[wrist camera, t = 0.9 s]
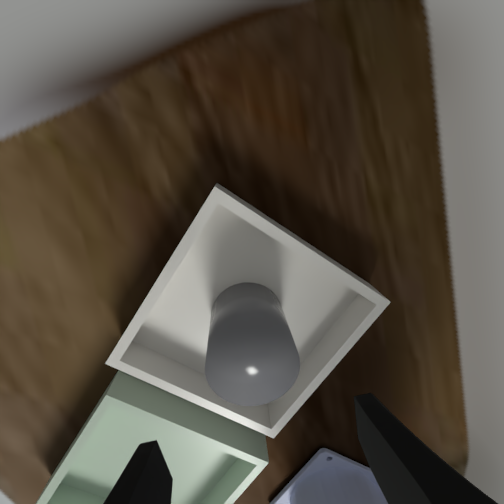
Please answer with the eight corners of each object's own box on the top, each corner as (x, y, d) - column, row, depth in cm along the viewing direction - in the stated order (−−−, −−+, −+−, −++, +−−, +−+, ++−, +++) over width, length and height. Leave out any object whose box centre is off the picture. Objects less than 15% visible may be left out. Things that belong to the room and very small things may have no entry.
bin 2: (264, 429, 22) (268, 462, 20) (186, 521, 25) (182, 561, 22) (121, 365, 20) (106, 394, 17) (50, 476, 22) (28, 516, 20)
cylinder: (295, 304, 18) (319, 354, 14) (256, 355, 19) (265, 418, 15) (236, 269, 17) (239, 309, 13) (197, 325, 18) (186, 382, 14)
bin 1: (369, 283, 19) (390, 302, 17) (268, 406, 22) (273, 438, 19) (216, 182, 16) (214, 186, 14) (121, 337, 19) (105, 363, 16)
